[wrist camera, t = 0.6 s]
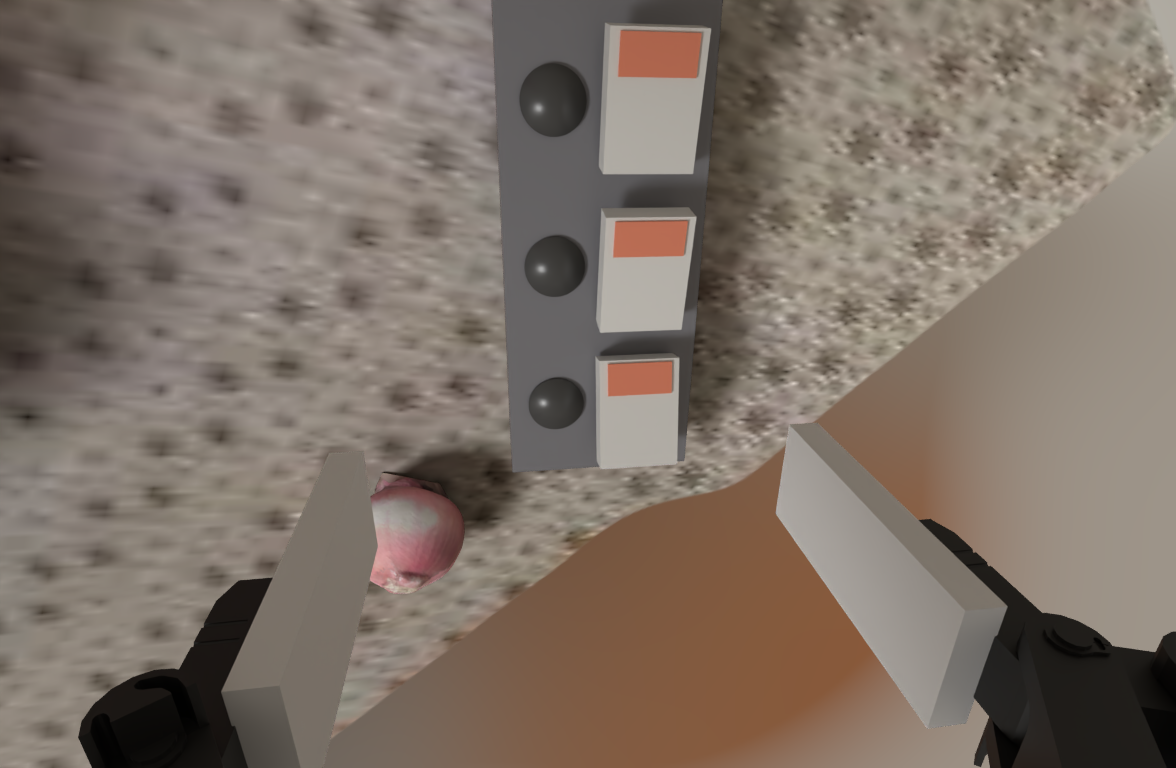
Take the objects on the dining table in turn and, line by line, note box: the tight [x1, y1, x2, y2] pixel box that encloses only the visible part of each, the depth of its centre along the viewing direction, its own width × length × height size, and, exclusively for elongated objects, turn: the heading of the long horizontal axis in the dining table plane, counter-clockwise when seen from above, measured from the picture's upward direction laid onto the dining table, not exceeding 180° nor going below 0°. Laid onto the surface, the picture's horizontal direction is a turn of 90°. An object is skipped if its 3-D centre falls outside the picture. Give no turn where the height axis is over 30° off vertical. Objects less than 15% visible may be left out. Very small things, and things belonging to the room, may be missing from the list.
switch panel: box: [492, 0, 723, 472], centre depth 40 cm, size 12×28×4 cm, turn 179°
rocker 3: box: [595, 353, 679, 469], centre depth 40 cm, size 5×7×2 cm
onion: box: [370, 473, 465, 594], centre depth 44 cm, size 8×8×7 cm
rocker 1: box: [599, 23, 711, 174], centre depth 33 cm, size 5×7×2 cm
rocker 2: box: [596, 207, 696, 333], centre depth 37 cm, size 5×7×2 cm
